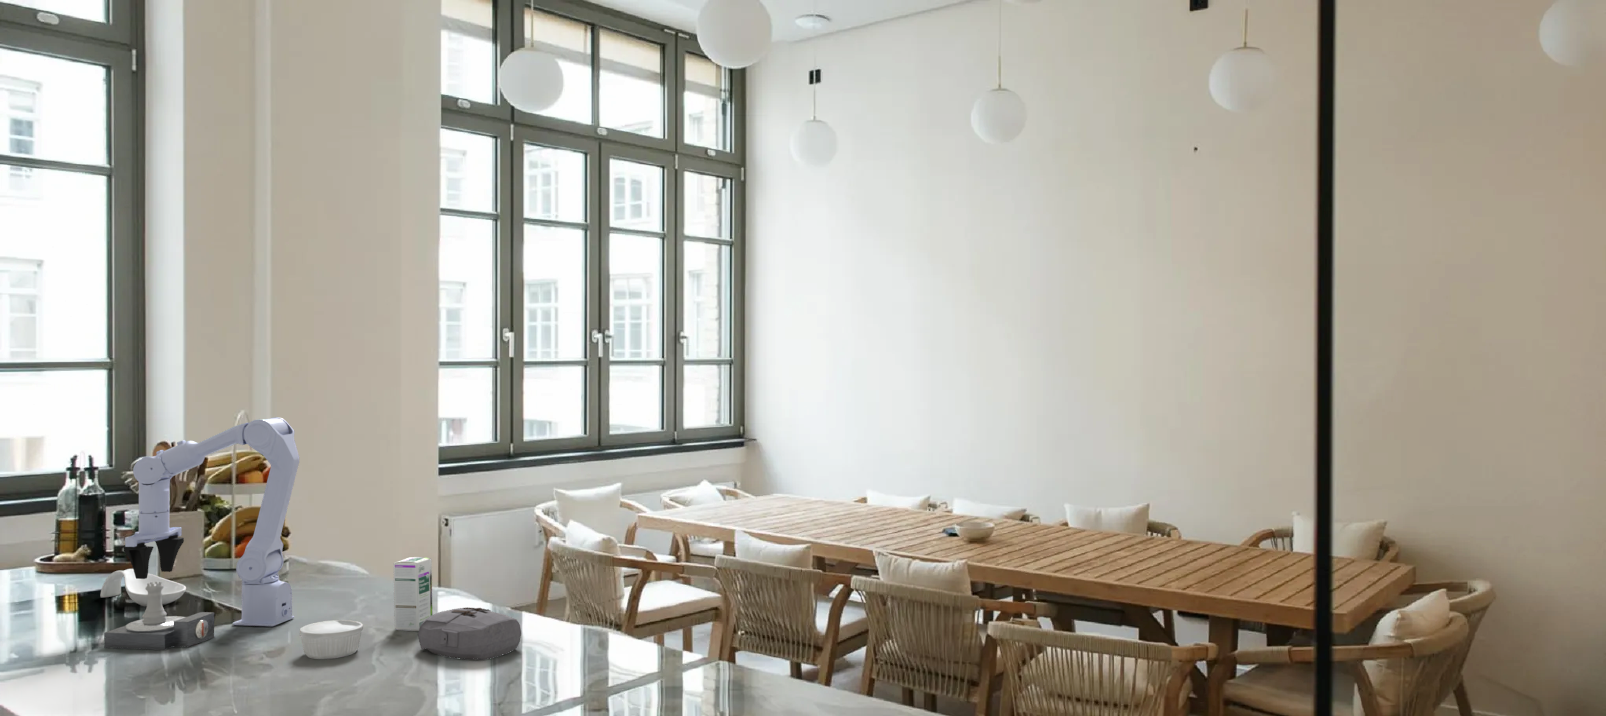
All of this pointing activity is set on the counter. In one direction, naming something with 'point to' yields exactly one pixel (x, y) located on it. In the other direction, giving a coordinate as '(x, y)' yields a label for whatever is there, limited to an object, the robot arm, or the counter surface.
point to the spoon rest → (140, 587)
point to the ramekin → (331, 638)
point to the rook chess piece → (154, 605)
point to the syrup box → (412, 592)
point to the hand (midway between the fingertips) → (154, 574)
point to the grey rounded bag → (469, 633)
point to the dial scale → (162, 633)
